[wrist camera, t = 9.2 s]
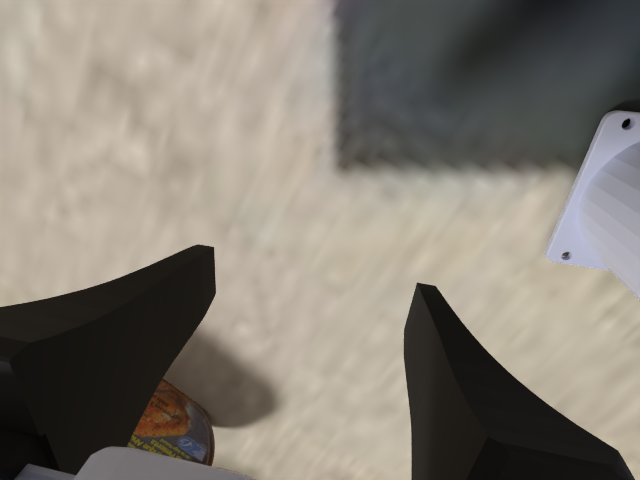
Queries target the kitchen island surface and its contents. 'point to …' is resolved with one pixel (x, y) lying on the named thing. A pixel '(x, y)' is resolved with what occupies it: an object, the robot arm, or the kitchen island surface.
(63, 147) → the kitchen island surface
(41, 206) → the kitchen island surface
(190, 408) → the tin
